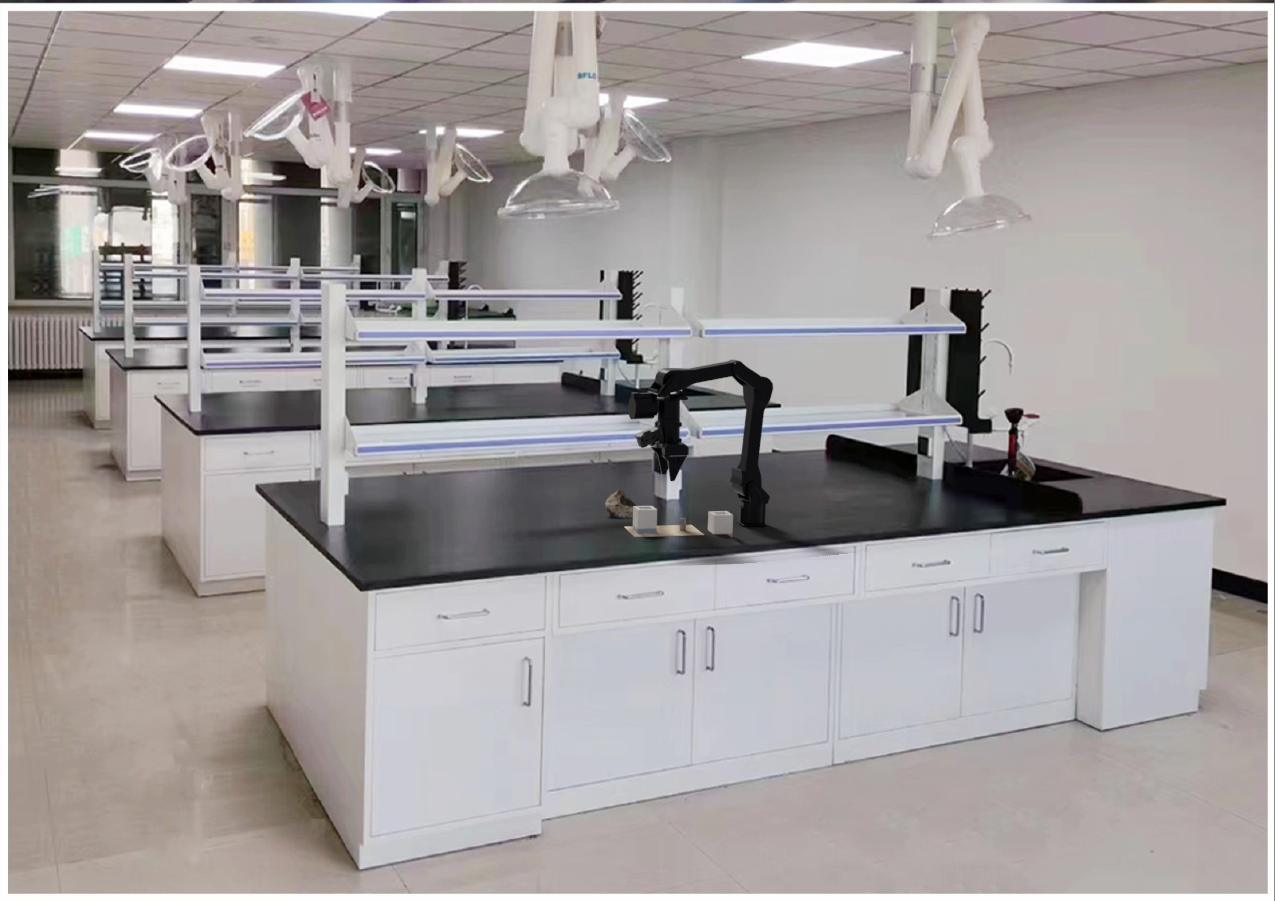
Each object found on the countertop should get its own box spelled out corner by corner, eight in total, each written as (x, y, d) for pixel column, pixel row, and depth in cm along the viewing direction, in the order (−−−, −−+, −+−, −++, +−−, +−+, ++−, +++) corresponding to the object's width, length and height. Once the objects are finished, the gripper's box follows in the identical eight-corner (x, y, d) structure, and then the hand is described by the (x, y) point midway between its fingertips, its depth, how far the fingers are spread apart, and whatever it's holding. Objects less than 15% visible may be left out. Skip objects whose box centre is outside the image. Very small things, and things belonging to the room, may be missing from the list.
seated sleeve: (651, 528, 325) (652, 505, 324) (656, 533, 320) (657, 509, 319) (632, 529, 324) (633, 506, 323) (637, 533, 319) (637, 510, 318)
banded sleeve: (726, 533, 326) (727, 510, 326) (732, 538, 322) (733, 514, 321) (707, 534, 325) (708, 511, 324) (713, 538, 320) (714, 515, 320)
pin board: (691, 529, 331) (691, 513, 330) (704, 539, 319) (704, 523, 319) (623, 531, 327) (624, 515, 326) (634, 541, 315) (634, 525, 315)
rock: (639, 509, 348) (610, 487, 345) (651, 503, 342) (623, 480, 339) (624, 534, 343) (596, 512, 341) (637, 528, 337) (608, 506, 335)
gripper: (630, 413, 333) (629, 472, 336) (646, 423, 315) (645, 485, 318) (671, 412, 335) (671, 471, 338) (689, 422, 317) (688, 484, 320)
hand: (668, 477), depth 328 cm, fingers open, 9 cm apart
